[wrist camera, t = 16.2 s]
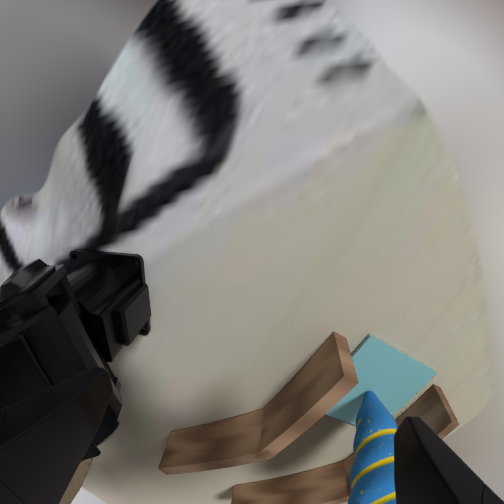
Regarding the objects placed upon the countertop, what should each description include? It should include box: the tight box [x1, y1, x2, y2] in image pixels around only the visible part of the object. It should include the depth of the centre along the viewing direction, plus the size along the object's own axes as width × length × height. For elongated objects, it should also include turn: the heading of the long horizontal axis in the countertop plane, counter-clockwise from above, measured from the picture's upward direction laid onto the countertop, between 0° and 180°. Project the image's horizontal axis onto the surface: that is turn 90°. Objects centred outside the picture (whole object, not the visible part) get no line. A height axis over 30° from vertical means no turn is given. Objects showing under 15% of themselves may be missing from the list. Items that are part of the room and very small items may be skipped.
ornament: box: [348, 391, 397, 504], centre depth 16 cm, size 5×5×15 cm
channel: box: [158, 332, 459, 504], centre depth 23 cm, size 25×26×5 cm
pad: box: [326, 334, 436, 426], centre depth 23 cm, size 8×8×1 cm
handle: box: [59, 458, 92, 504], centre depth 25 cm, size 5×6×15 cm
